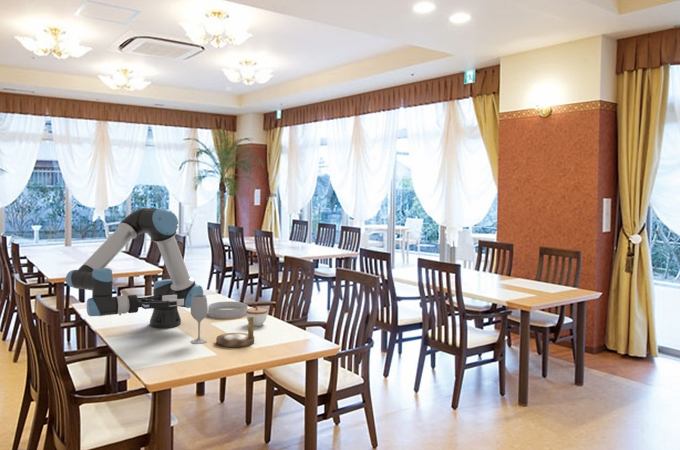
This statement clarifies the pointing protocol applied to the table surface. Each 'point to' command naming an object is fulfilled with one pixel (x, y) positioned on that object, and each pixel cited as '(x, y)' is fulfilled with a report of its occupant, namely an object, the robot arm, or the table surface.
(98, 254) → the robot arm
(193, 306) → the wineglass
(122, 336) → the table surface
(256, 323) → the lidded jar
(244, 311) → the dish
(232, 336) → the wooden holder stand
